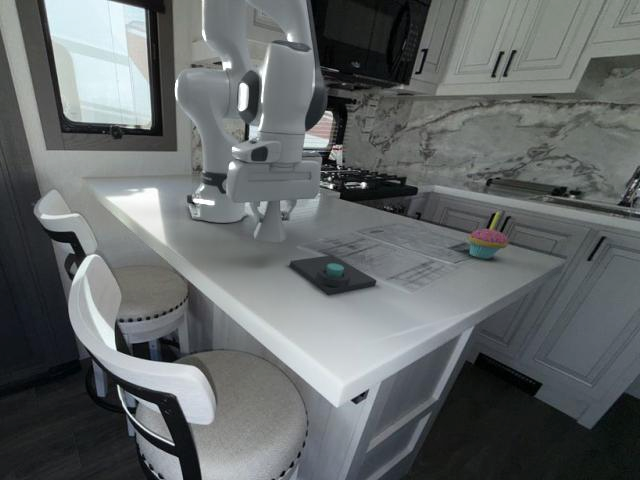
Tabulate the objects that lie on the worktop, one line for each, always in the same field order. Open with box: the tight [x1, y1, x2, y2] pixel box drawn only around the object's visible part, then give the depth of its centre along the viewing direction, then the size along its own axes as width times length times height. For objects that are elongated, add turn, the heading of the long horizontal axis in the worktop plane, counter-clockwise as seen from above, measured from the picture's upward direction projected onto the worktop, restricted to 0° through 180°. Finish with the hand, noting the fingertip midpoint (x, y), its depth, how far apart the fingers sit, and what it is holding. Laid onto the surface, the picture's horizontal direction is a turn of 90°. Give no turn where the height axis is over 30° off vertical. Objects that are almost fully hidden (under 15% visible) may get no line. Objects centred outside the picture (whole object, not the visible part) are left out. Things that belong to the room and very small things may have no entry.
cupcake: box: [467, 208, 510, 260], centre depth 79 cm, size 9×8×12 cm
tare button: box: [326, 264, 344, 278], centre depth 60 cm, size 3×3×2 cm
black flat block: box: [289, 254, 378, 296], centre depth 65 cm, size 14×12×3 cm
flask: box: [253, 201, 287, 243], centre depth 65 cm, size 7×7×10 cm
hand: (271, 221), depth 65 cm, fingers closed on flask, 5 cm apart
